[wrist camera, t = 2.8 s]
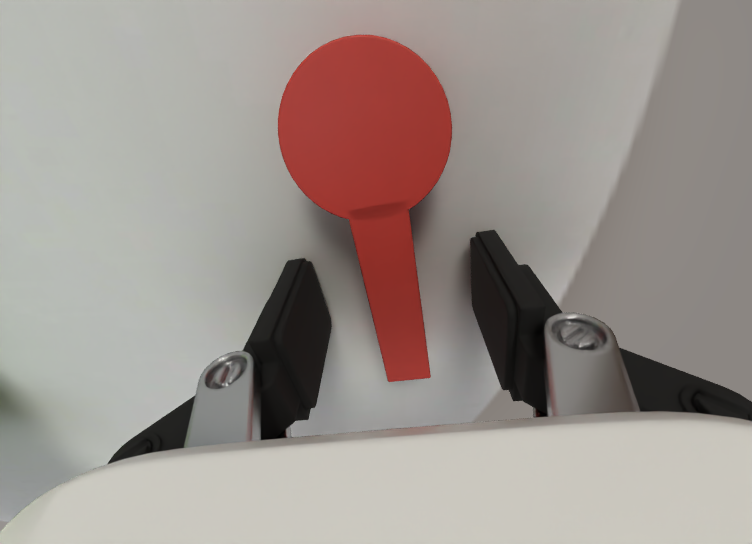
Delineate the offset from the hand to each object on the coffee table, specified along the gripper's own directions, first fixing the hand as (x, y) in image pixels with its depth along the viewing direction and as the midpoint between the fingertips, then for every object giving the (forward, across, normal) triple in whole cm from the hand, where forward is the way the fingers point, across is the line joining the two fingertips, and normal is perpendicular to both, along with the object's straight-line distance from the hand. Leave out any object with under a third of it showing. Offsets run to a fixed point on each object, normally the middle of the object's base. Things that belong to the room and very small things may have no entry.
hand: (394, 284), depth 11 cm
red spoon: (0, 0, -2) cm, 2 cm away
